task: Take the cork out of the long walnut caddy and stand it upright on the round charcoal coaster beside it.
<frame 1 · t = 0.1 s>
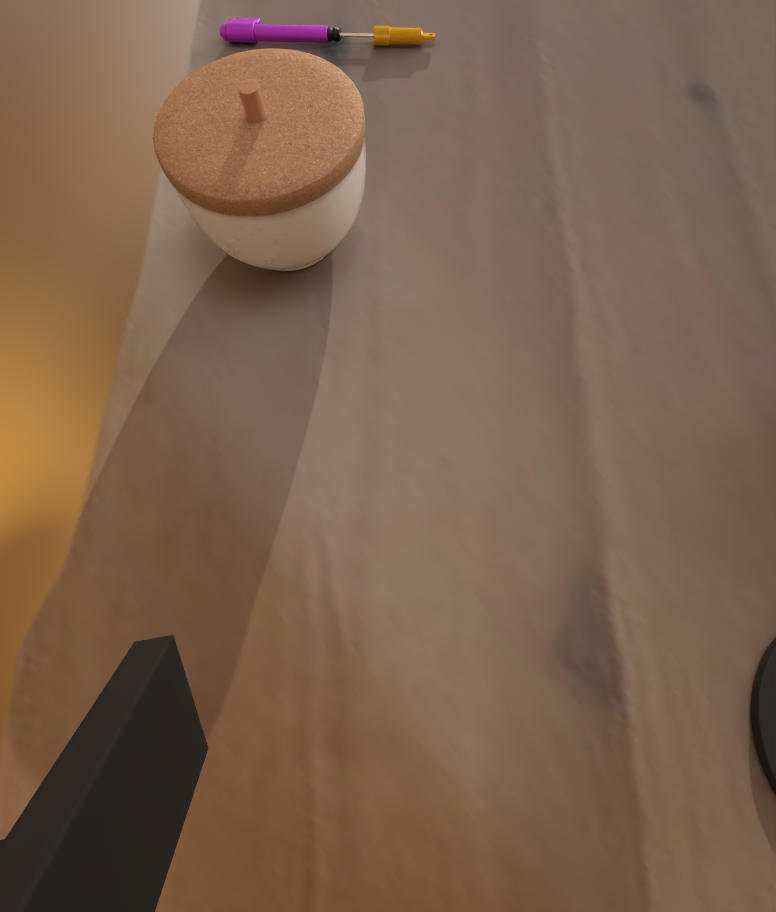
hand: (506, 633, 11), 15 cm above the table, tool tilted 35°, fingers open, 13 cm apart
trinket box: (291, 234, 35), on the table
multicoloured piece: (329, 40, 41), on the table
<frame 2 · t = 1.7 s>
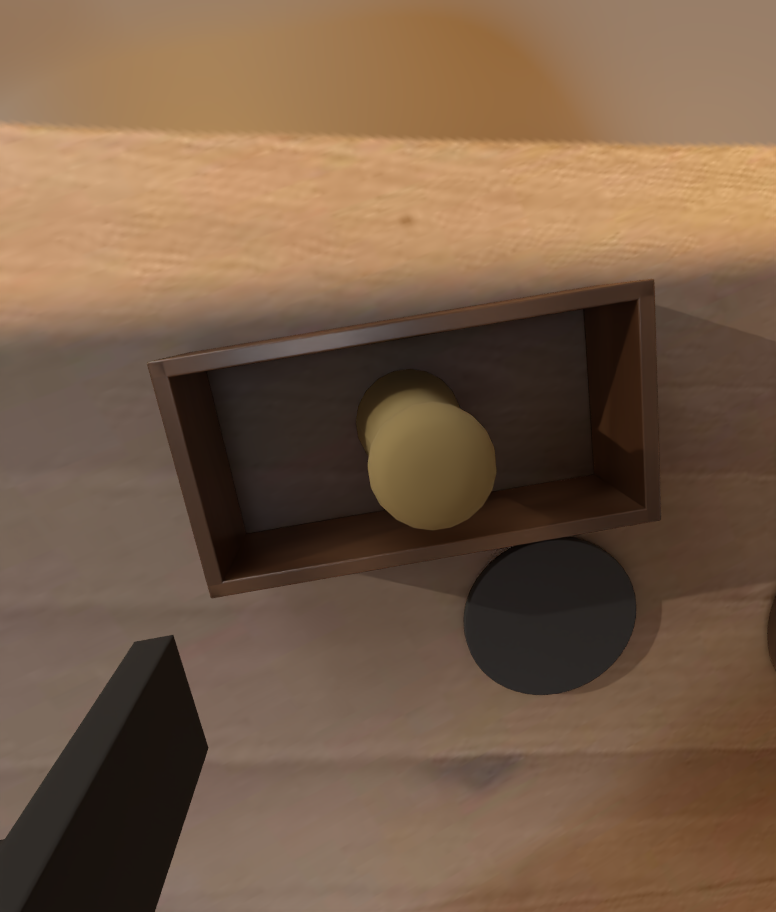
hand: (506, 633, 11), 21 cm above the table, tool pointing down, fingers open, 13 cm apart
caddy: (408, 422, 31), on the table
cork: (408, 421, 31), resting in caddy
coaster: (548, 615, 35), on the table
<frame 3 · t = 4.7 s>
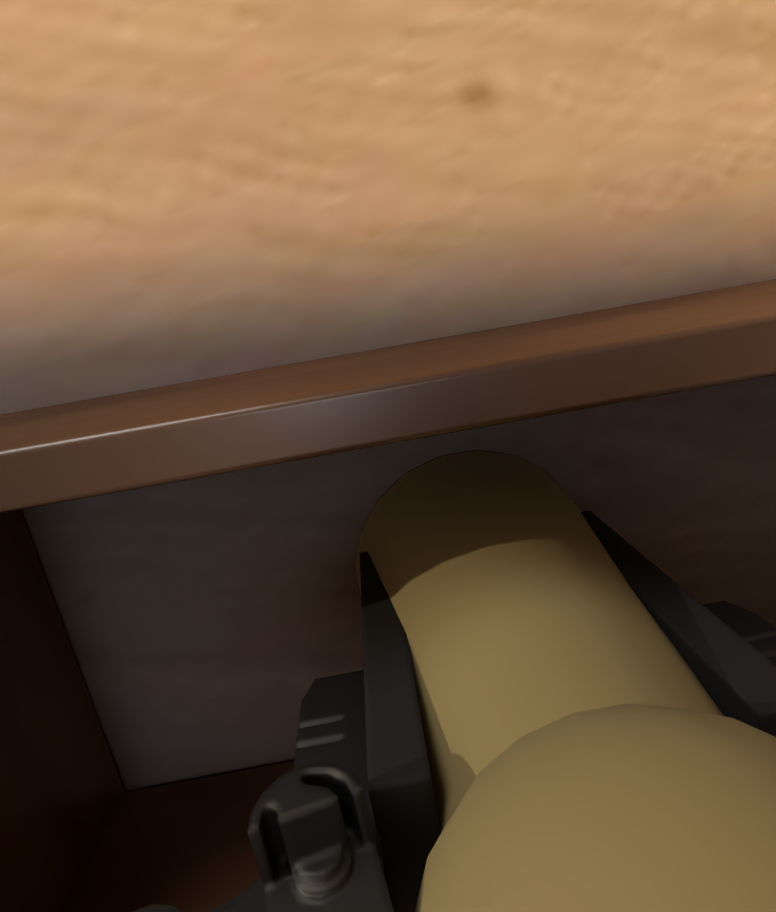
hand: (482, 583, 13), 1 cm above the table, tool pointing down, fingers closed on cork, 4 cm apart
caddy: (471, 562, 14), on the table
cork: (470, 559, 14), resting in caddy, touching gripper
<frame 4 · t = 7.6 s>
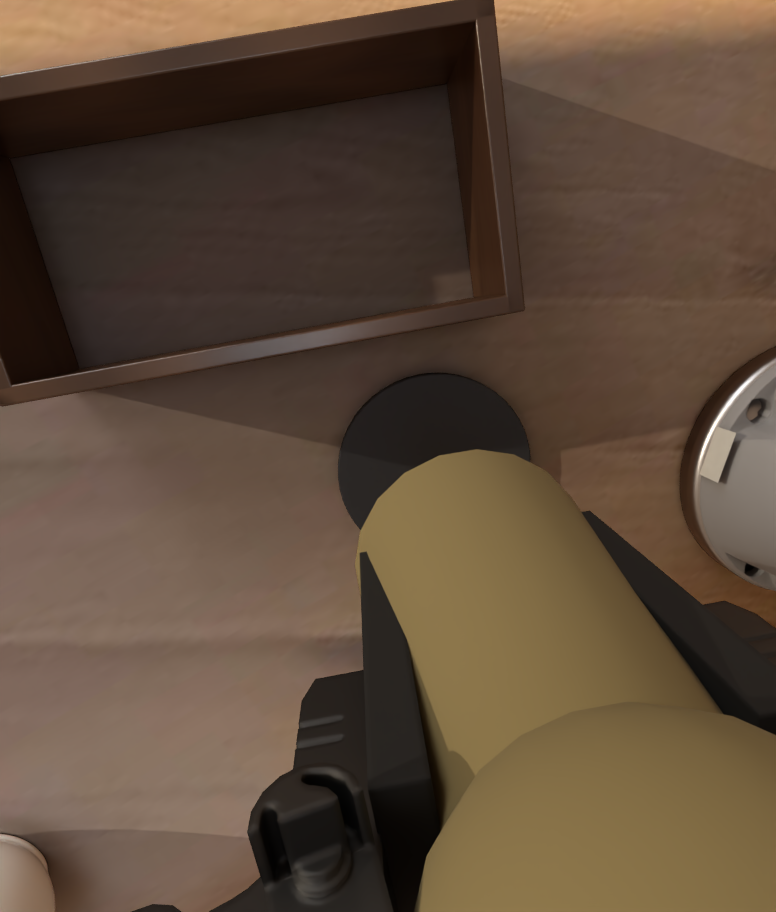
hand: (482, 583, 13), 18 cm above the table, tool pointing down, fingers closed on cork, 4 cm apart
caddy: (255, 232, 27), on the table
trinket box: (2, 865, 37), on the table
cork: (470, 558, 14), point 17 cm above the table, touching gripper
coaster: (433, 468, 31), on the table
when the fingers open (2 cm above the table, at t = 10.7 s): cork stays where it is, resting on coaster.
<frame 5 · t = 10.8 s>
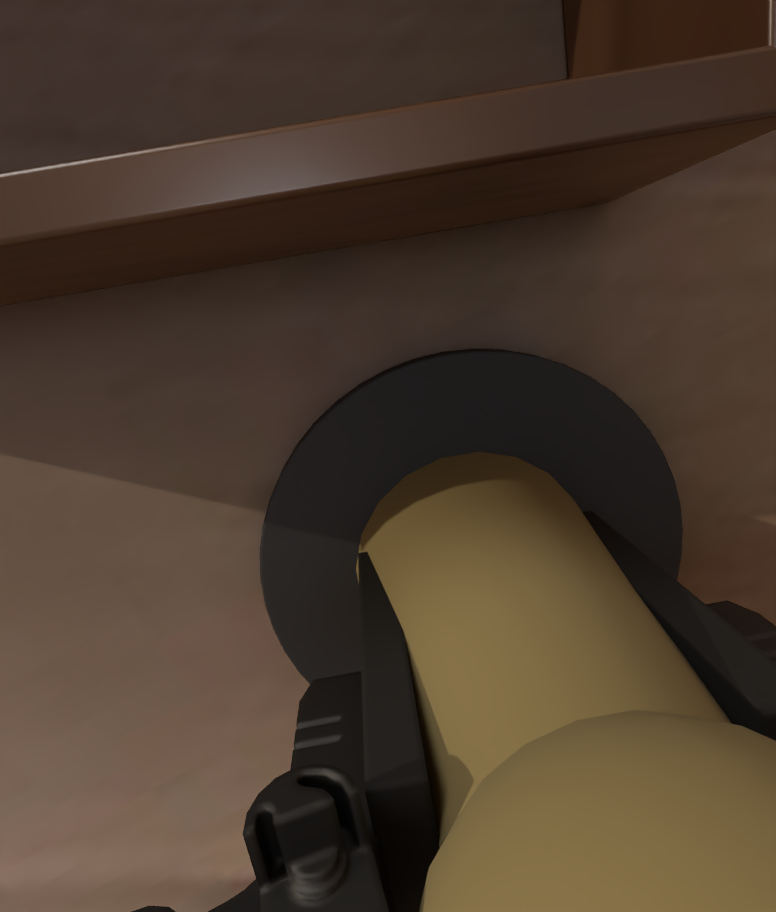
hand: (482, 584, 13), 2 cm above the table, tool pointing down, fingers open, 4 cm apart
cork: (472, 562, 14), resting on coaster
coaster: (470, 557, 15), on the table
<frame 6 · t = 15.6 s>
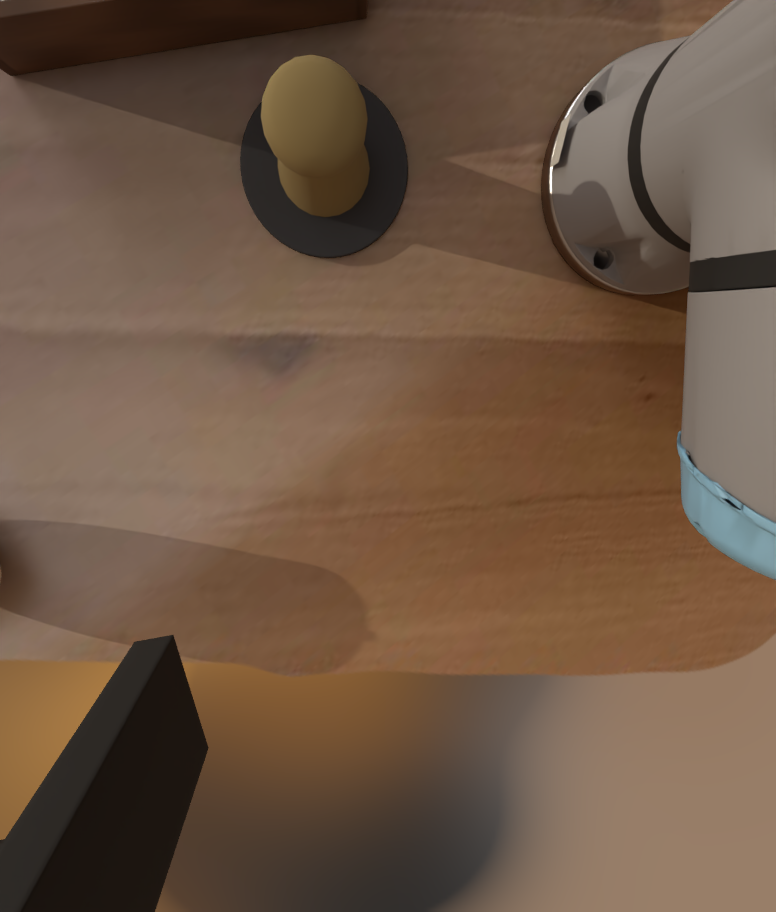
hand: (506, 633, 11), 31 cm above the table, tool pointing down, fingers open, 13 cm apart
cork: (324, 168, 36), resting on coaster
coaster: (325, 171, 36), on the table
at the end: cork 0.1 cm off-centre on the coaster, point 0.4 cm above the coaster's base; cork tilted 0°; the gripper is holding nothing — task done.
